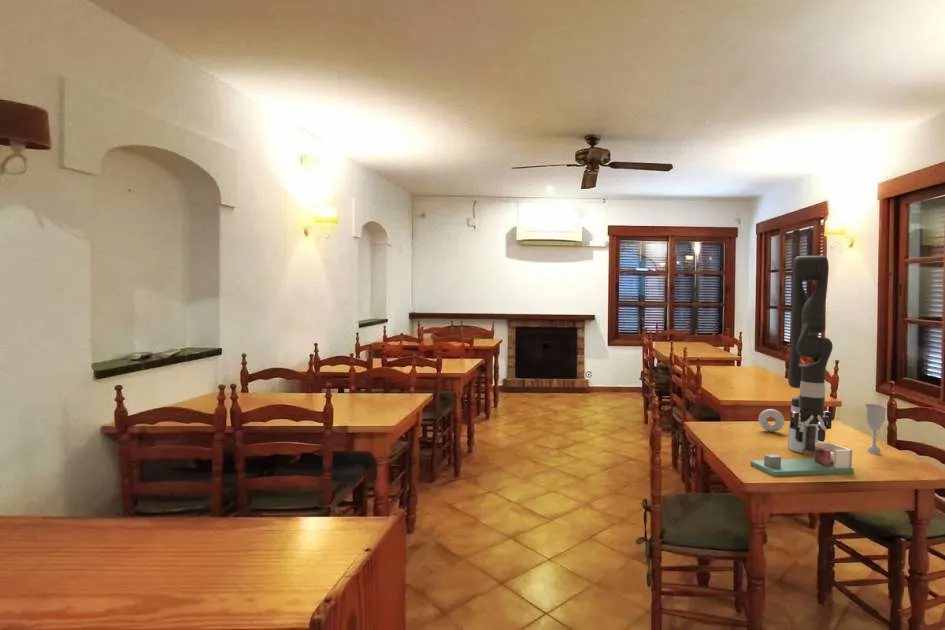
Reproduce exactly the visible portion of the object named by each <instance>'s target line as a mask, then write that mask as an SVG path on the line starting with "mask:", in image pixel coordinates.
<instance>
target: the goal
mask: <svg viewBox="0 0 945 630" xmlns="http://www.w3.org/2000/svg"><path fill="white" fill-rule="evenodd" d="M815 447H822V448H825V449H828V450H830V451H831V452H834V468H853V467H852V466H853V465H852V464H853V450H852V449H850V448H847V447H844V446H841V445H838V444H836V443H833V442H830V441H829V442H827V441H826V442H825V441H824V442H821V441H820V442H818V443H815Z"/></svg>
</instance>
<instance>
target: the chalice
mask: <svg viewBox="0 0 945 630" xmlns="http://www.w3.org/2000/svg"><path fill="white" fill-rule="evenodd" d="M864 406H865V407H866V409H865V412H866V414H865V418H866V422H867V424H868V426H869V428H870V430H872V434H871V436H872V439H871V441H872V443H871V445H869V446H868V447H866V450H865V452H866V451H867V452H866V453H868V452H870V453H869V454H871V453H875V454H874V455H881V454H880V453H882V451H881V449H880V447H879V446H877V444H876V443H877V441H878V440H877V436H878V434H877V431H880V429H881V428H882V426H883V425H884V423H885V420H886V410H887V409H888V406H886V405H882V404H877V403H876V404H875V403H865V404H864Z"/></svg>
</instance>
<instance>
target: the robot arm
mask: <svg viewBox="0 0 945 630" xmlns="http://www.w3.org/2000/svg"><path fill="white" fill-rule="evenodd" d="M829 267H830V266H829V259H828V258H827V256H825V255H799V256H797V255H796V257H795V258H794V259H793V263H792V289H793V290H792V291H793V292H792V293H793V294H792V296H793V297H792V298H793V299H792V308H791V309H792V310H791V311H792V312H791V324H790V325H791V326H790V328H791V329H790V330H791V331H790V339H791V340H790V356H789V365H788V372H787V373H788V376H787V381H788V385H789V386H790V387H791V388H794V389H799V395H798V396H797V395H796V396H793V397H792V398H791V401H790V403H791V408H790V422H789V423H788V437H787V438H788V439H787V448H789V450H791V451H793V452H796V453H800V454H803V449H805V431H806V427H807V425H811V426H815V427H816V434H815V443H819V442H820V443H821V442H825V440H826V432H827V430H831V429H832V419H833V418H832V416H833V413H832V411H828V410H824V409H825V403H826V402H825V399H826V385H825V379H826V369H827V366H828V365H827V364H828V362H829V359H830V357H831V354H832V353H833V343H832V340H831V339H829V337H823V336H821V337H820V336H819V334H821V333H824V331H825V330H826V302H827V301H826V299H827V293H828V283H829V282H828V281H829V273H830V272H829V271H830V269H829ZM803 282H817V285H816V288H815V289H814V291H813V293H812V294H811V295H810V296H808V294H807V293H806V290H805V288H804V284H803ZM818 336H819V337H818ZM802 357H803V358H818V360H817V361H816V362H813V363H806V364H802V363H801V364H799V363H800V360H801V358H802Z"/></svg>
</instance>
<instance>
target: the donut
mask: <svg viewBox="0 0 945 630" xmlns="http://www.w3.org/2000/svg"><path fill="white" fill-rule="evenodd" d="M771 417H772V418H774V419H775V422H774V423H770V422H768V418H771ZM758 423H759V425H760V427H761V428H762V429H763V430H765V431H767V432H772V433H775V432H779V431H780V430H781V429H783V427H784V425H785V417H784V416H783V414H782V413H781V412H780V411H779V410H776V409H773V408H768V409H764V410H763V411H761V412H760V414H759V415H758Z"/></svg>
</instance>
